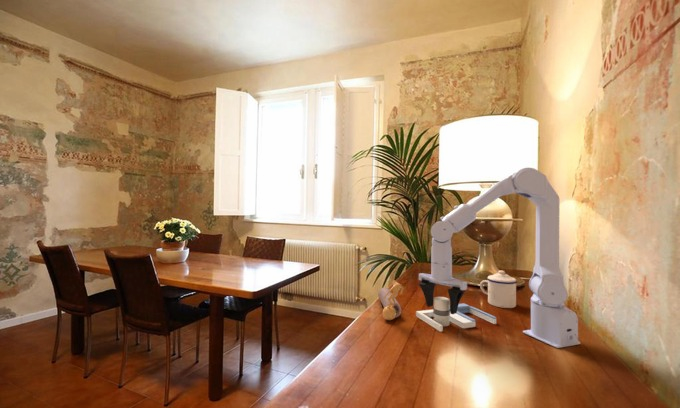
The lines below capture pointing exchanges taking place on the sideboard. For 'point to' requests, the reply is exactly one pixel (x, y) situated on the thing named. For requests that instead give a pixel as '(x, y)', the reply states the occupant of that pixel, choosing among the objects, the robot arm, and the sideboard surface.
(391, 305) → the figurine
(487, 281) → the teacup with lid
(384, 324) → the sideboard surface
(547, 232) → the robot arm
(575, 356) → the sideboard surface
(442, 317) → the banded white cylinder
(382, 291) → the coil
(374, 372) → the sideboard surface
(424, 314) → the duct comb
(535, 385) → the sideboard surface
